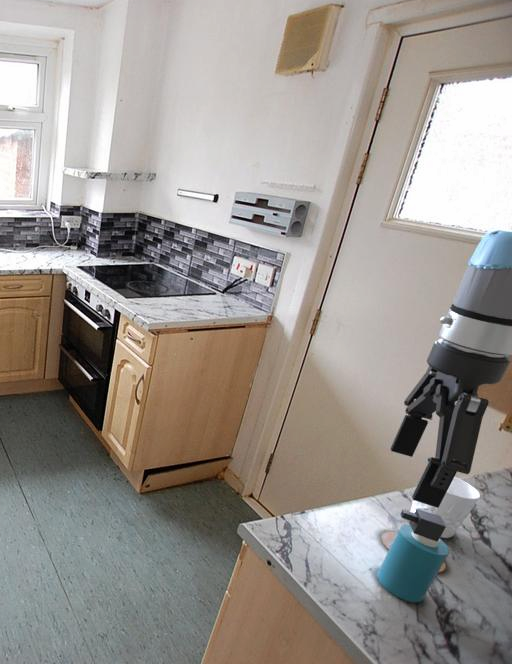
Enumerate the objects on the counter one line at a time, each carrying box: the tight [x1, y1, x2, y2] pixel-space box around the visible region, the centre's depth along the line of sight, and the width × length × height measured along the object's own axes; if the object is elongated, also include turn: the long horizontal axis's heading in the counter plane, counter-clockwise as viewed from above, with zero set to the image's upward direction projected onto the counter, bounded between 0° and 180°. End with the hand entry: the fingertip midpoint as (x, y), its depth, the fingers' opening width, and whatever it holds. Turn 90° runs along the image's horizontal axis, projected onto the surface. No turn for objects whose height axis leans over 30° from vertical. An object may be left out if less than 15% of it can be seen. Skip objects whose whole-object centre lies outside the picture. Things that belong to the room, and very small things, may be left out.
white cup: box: [409, 476, 481, 539], centre depth 88 cm, size 8×8×10 cm
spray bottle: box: [376, 509, 450, 603], centre depth 73 cm, size 7×6×14 cm
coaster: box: [381, 531, 447, 574], centre depth 83 cm, size 9×9×1 cm
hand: (411, 475), depth 69 cm, fingers open, 13 cm apart
